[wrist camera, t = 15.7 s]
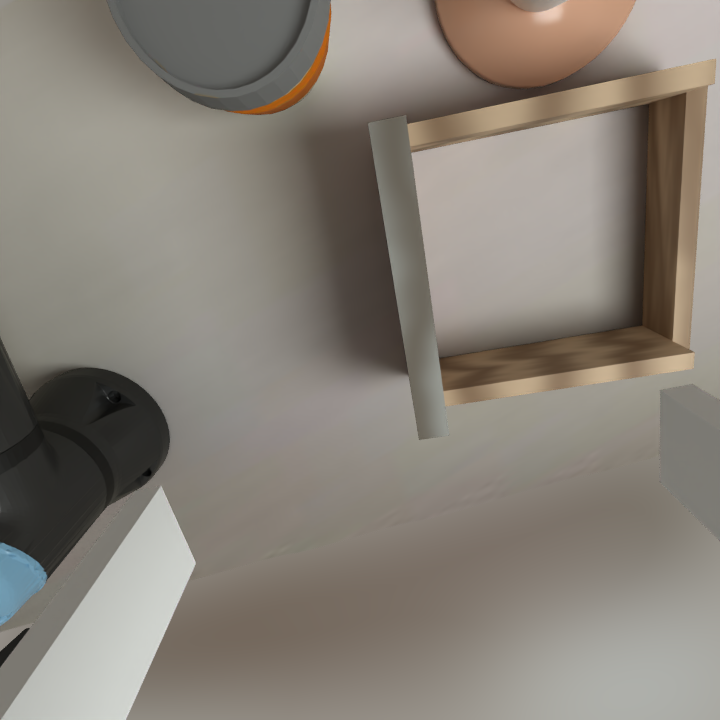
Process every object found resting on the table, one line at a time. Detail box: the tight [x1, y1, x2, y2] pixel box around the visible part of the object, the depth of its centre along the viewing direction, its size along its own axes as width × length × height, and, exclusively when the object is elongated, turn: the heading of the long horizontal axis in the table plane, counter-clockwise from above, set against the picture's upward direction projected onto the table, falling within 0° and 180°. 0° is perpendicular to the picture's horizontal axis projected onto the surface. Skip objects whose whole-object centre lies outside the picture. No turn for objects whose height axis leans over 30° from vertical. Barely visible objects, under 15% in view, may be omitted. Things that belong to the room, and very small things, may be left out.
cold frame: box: [368, 59, 716, 440], centre depth 37 cm, size 25×23×13 cm
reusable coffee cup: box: [107, 0, 331, 115], centre depth 31 cm, size 12×12×15 cm
